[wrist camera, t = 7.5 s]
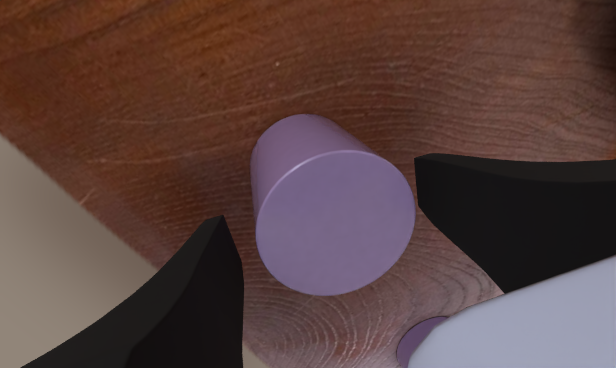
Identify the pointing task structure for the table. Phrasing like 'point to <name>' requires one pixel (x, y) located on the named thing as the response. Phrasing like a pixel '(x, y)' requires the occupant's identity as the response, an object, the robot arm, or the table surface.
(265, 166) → the lavender cylinder post
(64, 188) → the table surface
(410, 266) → the table surface
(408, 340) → the purple round peg
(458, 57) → the table surface
